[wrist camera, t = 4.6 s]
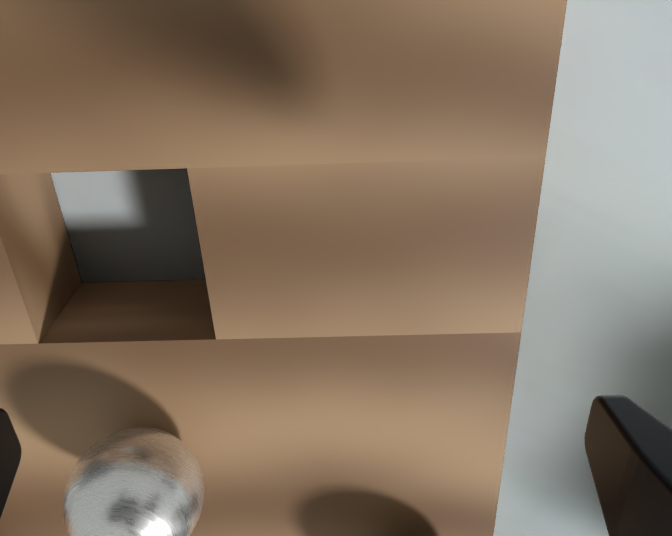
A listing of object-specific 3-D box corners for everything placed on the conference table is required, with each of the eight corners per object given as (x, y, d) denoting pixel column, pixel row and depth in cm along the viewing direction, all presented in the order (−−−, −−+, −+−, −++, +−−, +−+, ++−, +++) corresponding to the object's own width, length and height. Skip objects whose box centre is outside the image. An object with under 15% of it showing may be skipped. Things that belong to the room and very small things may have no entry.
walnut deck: (464, 563, 25) (478, 639, 22) (-20, 568, 25) (-62, 643, 23) (529, -47, 14) (571, -37, 11) (-328, -10, 14) (-476, 6, 12)
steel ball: (222, 486, 18) (198, 599, 15) (107, 488, 18) (60, 601, 15) (205, 398, 17) (174, 506, 14) (78, 400, 17) (19, 508, 14)
